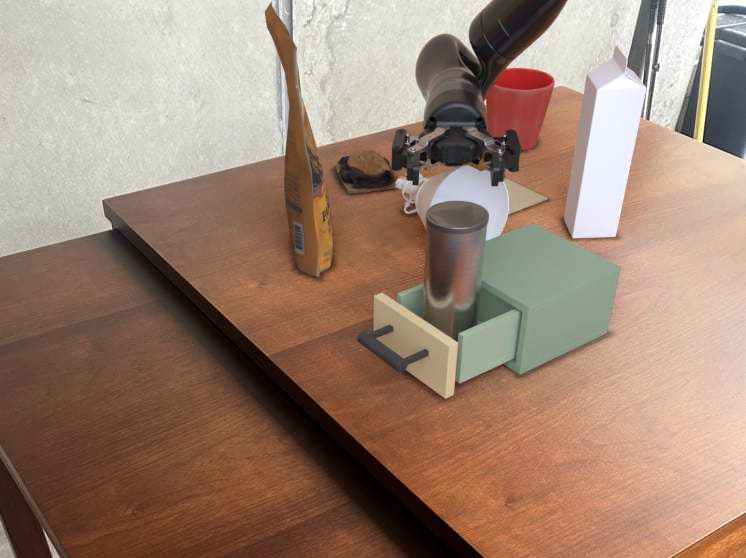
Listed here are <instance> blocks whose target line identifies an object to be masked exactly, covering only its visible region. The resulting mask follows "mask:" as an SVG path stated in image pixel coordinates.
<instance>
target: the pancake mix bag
mask: <svg viewBox="0 0 746 558" xmlns="http://www.w3.org/2000/svg"><path fill="white" fill-rule="evenodd" d="M264 17H265V25H266V29H267V31H268V32H269V34H270V37H271V39H272V40H273V45H274V47H275V49H276V52H277V55H278V58H279V61H280V64H281V66H282V68H283V71H284V79H285V84H286V89H287V91H286V92H287V98H288V120H287V130H286V141H285V149H284V150H285V151H284V178H283V180H284V181H283V188H284V189H283V190H284V203H285V213H286V220H287V226H288V233H289V239H290V242H291V247H292V253H293V256H294V259H295V263H296V269H298V270H299V271H300V272H302V273H303V274H306V275H308V276H312V277H316V278H320V275H321V273H322V272H325V271H327V270H329V269H331V265H332V261H333V255H334V234H333V219H332V211H331V209H332V208H331V202H330V196H329V189H328V185H327V181H326V177H325V173H324V167H323V165H322V161H321V156H320V153H319V150H318V146H317V143H316V139H315V135H314V132H313V128H312V126H311V125H312V124H311V122H310V118H309V115H308V112H307V108H306V106H305V102H304V99H303V96H302V88H301V87H302V86H301V79H300V78H301V77H300V70H299V69H300V68H299V65H298V60H297V59H298V57H297V55H298V54H297V53H298V47H297V45H296V44H295V42H294V40H293V38H292V35H291V34H290V31H289V30H288V28H287V26H286V24H285V22H284V21H283V20H282V19H281V18H280V16H279V15H278V14H277V12H276V10H275V8H274V6H273V1H271V2H270V3H269V4H268V6H267V7H266V8H265V10H264Z"/></svg>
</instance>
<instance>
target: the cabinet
mask: <svg viewBox="0 0 746 558" xmlns="http://www.w3.org/2000/svg"><path fill="white" fill-rule="evenodd" d="M621 271H622V267H621V266H619V265H617V264H616V263H613V262H611V261H609V260H608V259H605V258H603V257H601V256H599V255H597V254H595V253H593V252H592V251H590V250H587V249H585V248H583V247H581V246H579V245H578V244H576V243H573V242H571V241H570V240H568V239H565V238H563V237H561V236H560V235H557V234H555V233H553V232H551V231H550V230H547V229H545V228H543V227H541V226H539V225H538V224H535V223H534V222H531V223H529V224H526V225H524V226H520V227H519V228H515V229H514V230H510V231H508V232H505V233H503V234H501V235H500V236H497V237H495V238H492V239H490V240H487V241H486V242H485V252H484V263H483V273H482V283H481V288H483V289H485V290H487V291H488V292H490V293H492V294H493V295H495V296H497V297H498V298H500V299H502V300H503V301H505V302H507V303H509V304H510V305H512V306H514V307H515V308H517V309H519V310H520V311H522V319H521V327H520V334H519V341H518V349H517V356H516V358H514V359H512V360H510V361H507V362H505V363H503V364H502V365H504V366H505V367H507V368H508V369H510V370H511V371H513V372H514V373H516V374H518V376H520V375H523V374H525V373H527V372H529V371H531V370H534V369H536V368H538V367H539V366H542V365H544V364H546V363H549V362H550V361H552V360H554V359H556V358H559V357H560V356H562V355H565V354H567V353H569V352H571V351H573V350H576V349H577V348H579V347H581V346H583V345H586V344H588V343H591V342H592V341H595V340H597V339H598V338H601V337H602V336H605V335H607V334H608V330H609V326H610V321H611V316H612V313H613V312H612V311H613V307H614V303H615V299H616V294H617V290H618V284H619V280H620V275H621Z"/></svg>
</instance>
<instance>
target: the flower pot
mask: <svg viewBox="0 0 746 558" xmlns="http://www.w3.org/2000/svg"><path fill="white" fill-rule="evenodd" d="M555 83H556V81H555V78H554V77H553V75H551V74H549V73H548V72H545V71H543V70H539V69H534V68H528V67H527V68H525V67H507V68H506V69H505V70H504V72H503V73H502V74H501V75H500V77H499V78H498V80H497V81H496V83H495V84H494V86H493V88H492V89H491V91H490V93H489V94H488V96H487V98H486V99H485V109H486V120H487V131H488V132H490V133H491V134H492V136H493V137H502V136H503V134H505V133H506V130H510V129H512V130H515V131H516V132H517V135H518V139H519V142H520V145H521V151H526V150H530V149H532V148H533V147H536V145H537V143H538V139H539V136H540V134H541V130H542V127H543V124H544V121H545V119H546V115H547V112H548V108H549V105H550V101H551V98H552V94H553V92H554V88H555V85H556V84H555Z"/></svg>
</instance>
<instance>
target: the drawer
mask: <svg viewBox="0 0 746 558" xmlns="http://www.w3.org/2000/svg"><path fill="white" fill-rule="evenodd" d="M423 287H424V282H422V283H420V284H418V285H414V286H412V287H409V288H407V289H404V290H402V291H400V292H397V293H396V300H394V299H393V298H392V297H390V296H388V295H387V294H385V293H384V292H380V293H377V294H375V295H373V331H371V332H368V331H366V330H362V331H360V332H359V333H358V334H357V338H356V341H357V343H358V344H360V345H361V346H363V347H364V348H365V349H367V350H368V351H369V352H371V353H372V354H373V355H374V356H375V357H377V358H379V359H380V360H382V361H383V362H384V363H385V364H387V365H388V366H390V367H391V368H393V369H394V371H396V372H398V373H403V372H405V371H407V372H408V373H410V374H411V375H412V376H414V377H415V378H416V379H418V380H419V381H420V382H422V383H423V384H425V385H426V386H427V387H429V388H430V389H431V390H433V391H434V392H436V393H437V394H438V395H439V396H441V397H442V398H444V399H445V400H446V399H449V398H450V397H452V396H454V395H455V385H456V383H458V384H459V385H460V384H462V383H465V382H466V381H469V380H471V379H473V378H475V377H478V376H479V375H481V374H484V373H486V372H488V371H490V370H492V369H495V368H497V367H499V366H502V365H504V364H503V363H505V362H507V361H510V360H512V359H514V358H516V356H517V349H518V341H519V334H520V327H521V319H522V311H520V310H519V309H517V308H515V307H514V306H512V305H510V304H509V303H507V302H505V301H503V300H502V299H500V298H498V297H497V296H495V295H493V294H492V293H490V292H488V291H487V290H485V289H483V288H481V294H480V304H479V314H478V325H477V326H474V327H472V328H470V329H467V330H465V331H463V332H461V333H459V334H458V342H456V341H455V340H453V339H452V338H450V337H449V336H447V335H446V334H444V333H443V332H441V331H440V330H438V329H437V328H435V327H434V326H432V325H431V324H429V323H428V322H426V321H425V320H423V319H422V310H423Z"/></svg>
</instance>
